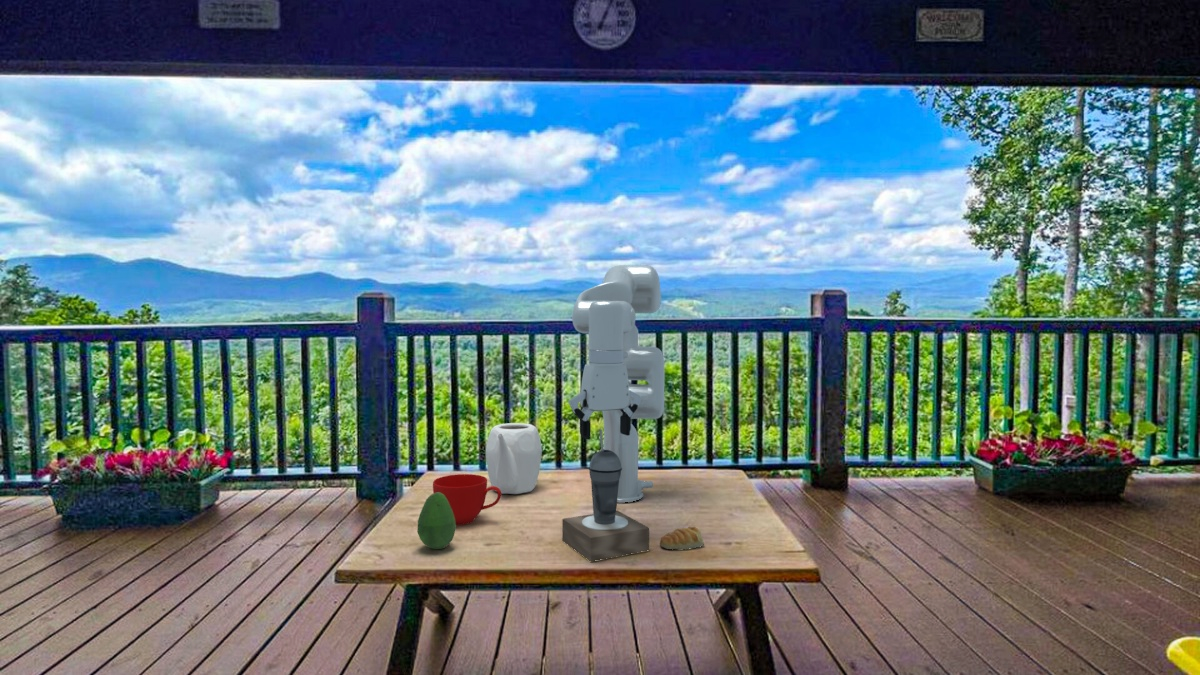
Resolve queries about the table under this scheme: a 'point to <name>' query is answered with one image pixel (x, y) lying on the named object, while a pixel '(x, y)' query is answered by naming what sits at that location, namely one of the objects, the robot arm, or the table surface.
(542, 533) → the table surface
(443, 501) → the fruit
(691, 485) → the table surface
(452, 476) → the ceramic cup
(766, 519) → the table surface
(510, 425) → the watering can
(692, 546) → the pastry
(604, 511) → the beverage cup
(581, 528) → the walnut stand
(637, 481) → the robot arm
